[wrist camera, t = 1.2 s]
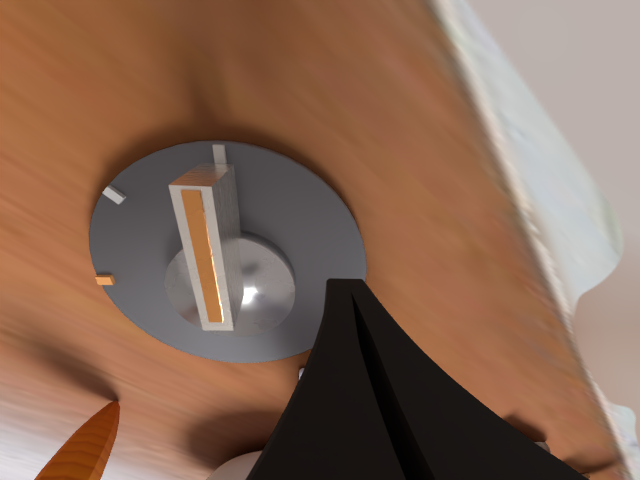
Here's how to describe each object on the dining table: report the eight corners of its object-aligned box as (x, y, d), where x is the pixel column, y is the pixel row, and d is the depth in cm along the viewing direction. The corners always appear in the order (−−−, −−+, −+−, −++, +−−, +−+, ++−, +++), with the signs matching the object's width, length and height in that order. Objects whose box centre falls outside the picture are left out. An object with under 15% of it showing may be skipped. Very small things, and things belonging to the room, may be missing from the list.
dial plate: (348, 353, 26) (350, 364, 25) (143, 354, 25) (136, 366, 24) (385, 148, 16) (391, 152, 15) (46, 130, 15) (25, 133, 14)
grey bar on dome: (295, 322, 22) (292, 376, 18) (187, 322, 22) (158, 377, 17) (297, 164, 16) (294, 190, 11) (141, 156, 15) (76, 181, 11)
